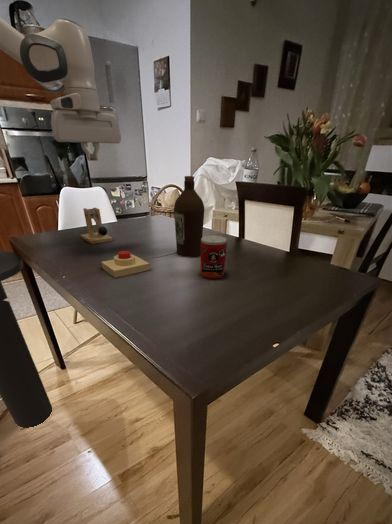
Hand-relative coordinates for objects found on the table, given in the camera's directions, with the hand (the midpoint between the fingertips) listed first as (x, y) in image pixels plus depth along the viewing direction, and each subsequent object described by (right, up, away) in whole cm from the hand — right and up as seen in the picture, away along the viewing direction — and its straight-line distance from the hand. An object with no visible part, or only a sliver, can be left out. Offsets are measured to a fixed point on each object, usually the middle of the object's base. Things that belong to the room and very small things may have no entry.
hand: (92, 160), depth 91 cm
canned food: (+38, -37, -1) cm, 53 cm away
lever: (-7, -10, +24) cm, 27 cm away
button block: (+10, -34, +2) cm, 36 cm away
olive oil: (+31, -24, +17) cm, 42 cm away
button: (+10, -32, 0) cm, 33 cm away
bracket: (-9, -14, +30) cm, 34 cm away
